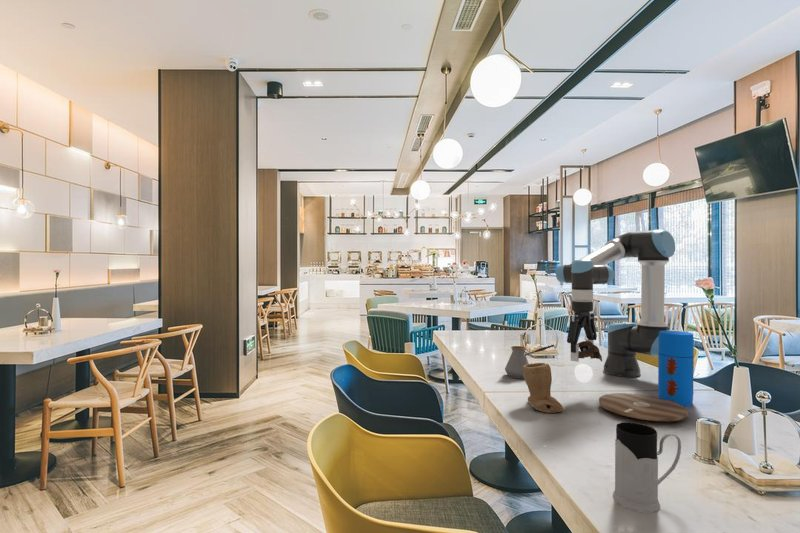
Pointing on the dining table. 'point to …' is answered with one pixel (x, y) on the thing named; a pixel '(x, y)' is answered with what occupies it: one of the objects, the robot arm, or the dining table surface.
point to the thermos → (676, 367)
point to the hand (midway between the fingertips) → (582, 358)
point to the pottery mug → (589, 350)
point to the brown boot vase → (540, 387)
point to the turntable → (643, 407)
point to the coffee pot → (519, 361)
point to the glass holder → (639, 466)
